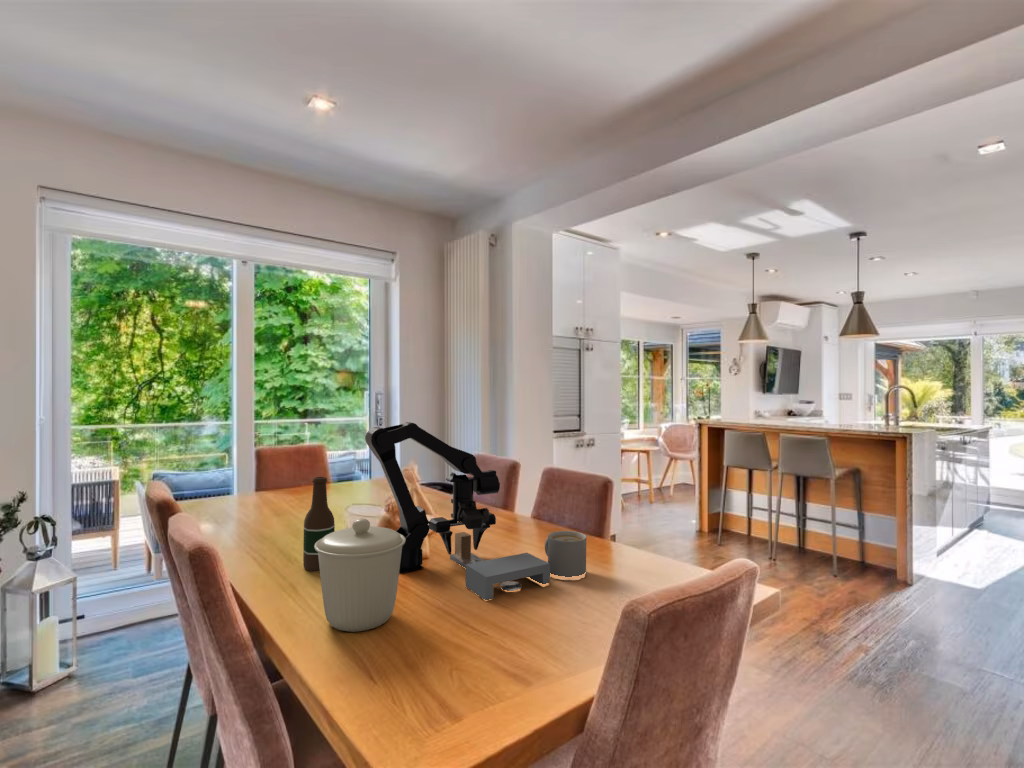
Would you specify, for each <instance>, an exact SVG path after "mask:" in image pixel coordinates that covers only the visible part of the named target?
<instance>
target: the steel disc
mask: <svg viewBox="0 0 1024 768" xmlns="http://www.w3.org/2000/svg"><path fill="white" fill-rule="evenodd" d="M501 588H502V589H503V590H507V591H514V590H518V589H520V588H521V589H522V584H521V583H520V582H518V581H515V580H511V581H506V582H502V583H500V589H501Z"/></svg>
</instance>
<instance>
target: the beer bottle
mask: <svg viewBox="0 0 1024 768" xmlns="http://www.w3.org/2000/svg"><path fill="white" fill-rule="evenodd" d="M311 482H312V483H313V484H312V485H313V487H312V497H311V499H312V500H311V505H310V509H309V510H308V512H306V515H305V518H304V520H303V550H302V551H303V553H302V554H303V556H302V557H303V559H302V561H303V569H305V570H306V571H307V570H308V571H307V572H314V571H319V572H320V568H319V557H318V552H317V551H316V550H315V548H314V546H315V543H316V542H317V541H318V540H320V539H322V538H323V537H324V536H326V535H327V534H330V533H332V532H335V531H336V530H335V528H336V527H335V526H336V525H335V516H334V514H333V512H332V511H331V510H330V508H329V506H328V495H327V493H328V492H327V482H328V479H327V477H325V476H316V477H313V478H312V481H311Z"/></svg>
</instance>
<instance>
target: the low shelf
mask: <svg viewBox="0 0 1024 768" xmlns="http://www.w3.org/2000/svg"><path fill="white" fill-rule="evenodd" d="M464 576H465V584H464V585H465V586H466V587H467V588H469V589H470V590H472V591H473V592H474V593H476V594H477V595H479V596H480V597H481V598H483V599H485V600H489V599H493V600H494V585H497V584H502V583H503V582H507V581H515V580H518V579H524V578H525V577H530V578H531V579H533V580H535V581H537V582H539V583H542V584H546V583H549V582H550V581H551V580H550V579H551V577H550V563H548V561H546V560H545V559H544V560H543V559H541V558H539V557H537V556H535V555H533V554H531V553H529V552H524V553H518V554H513V555H507V556H503V557H496V558H492V559H487V560H485V561H481V562H476V563H471V564H466V569H465V575H464ZM550 583H551V582H550ZM466 587H465V588H466ZM467 588H466V589H467ZM469 589H468V590H469ZM470 590H469V591H470ZM473 592H472V593H473ZM474 593H473V594H474ZM476 594H475V595H476ZM477 595H476V596H477ZM479 596H478V597H479ZM480 597H479V598H480ZM481 598H480V599H481ZM483 599H482V600H483Z"/></svg>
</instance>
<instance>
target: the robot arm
mask: <svg viewBox="0 0 1024 768" xmlns="http://www.w3.org/2000/svg"><path fill="white" fill-rule="evenodd" d="M364 439H365V443H366V445H367V446H368V448H369V450H370V451H371V452H372V454H373V455H374V456H375V458H376V460H378V462H379V464H380V466H381V468H382V470H383V473H384V475H385V478H386V481H387V483H388V485H389V486H388V487H389V488H390V491H391V492H392V495H393V497H394V500H395V502H396V505H397V507H398V513H399V514H398V516H399V517H398V518H399V523H400V526H399V527H398V529H397V530H395V531H396V532H398V533H399V534H401V535H403V536H404V537H405V539H406V541H405V544H404V545H403V546H402V552H401V561H400V570H399V574H402V573H409V572H413V571H420V570H423V569H424V566H423V549H422V547H423V543H424V540H425V539H426V538H427V536H428V534H429V532H430V530H431V531H432V532H435V533H436V534H439V536H440V538H441V540H442V541H443V544H444V547H445V549H446V552H447V554H448V555H449V556H450V555H452V535H453V531H451V527H457V526H465V528H466V529H467V530H472V543H473V549H474V551H477V550H478V548H479V545H480V543H481V540H482V537H483V535H484V532H485V531H486V530H488V529H490V528H491V526H492V525H496V524H497V517H496V515H495V513H492V512H490V510H489V509H488V508H487V507H484V508H477V503H476V500H474V493H476V495H478V496H482V495H483V496H484V495H492V494H498V493H499V491H500V487H501V483H500V481H499V477H498V474H497V470H494V469H489V470H483V471H482V470H481V468H480V467H479V465H478V464H477V458H476V456H475V455H474V454H472V453H469V452H466V451H464V450H461V449H459V448H456V447H453V446H451V445H449V444H447V443H446V442H445V441H443V440H441V439H439V438H438V437H436V436H434V435H433V434H431V433H430V432H428V431H426V430H425V429H423V428H422V427H420V426H418V424H417V423H415V422H411V421H409V422H408V421H406V422H404V423H400V424H397V425H392V426H386V427H380V426H374V427H373V426H372V427H371V428H369V429H368V430H367V432H366V433H365V436H364ZM408 439H411V440H412V441H414V442H415V443H417V444H419V445H420V446H421V447H424V448H426V449H427V450H429V451H430V452H432V453H434V454H436V455H437V456H439V457H440V458H441V459H442V460H444V462H445V463H446V464H447V465H448V466H450V467H451V468H452V469H453V470H454V471H457V472H459V473H461V474H456V473H455V472H451V473H450V475H448V476H447V477H446V478H445V481H447V482H449V483H452V484H453V485H452V498H451V499H450V503H451V504H452V513H450V518H451V519H447V518H445V517H443V516H440V517H432V518H430V520H429V519H428V517H427V513H426V510H425V509H424V508H422V507H420V506H419V505H415V503H414V500H413V497H412V495H411V492H410V490H409V487H408V485H407V483H406V480H405V478H404V475H403V473H402V470H401V468H400V465H399V462H398V460H397V456H396V455H397V454H396V453H397V452H396V451H397V450H396V444H399V443H401V442H403V441H406V440H408ZM468 475H470V476H468Z"/></svg>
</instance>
